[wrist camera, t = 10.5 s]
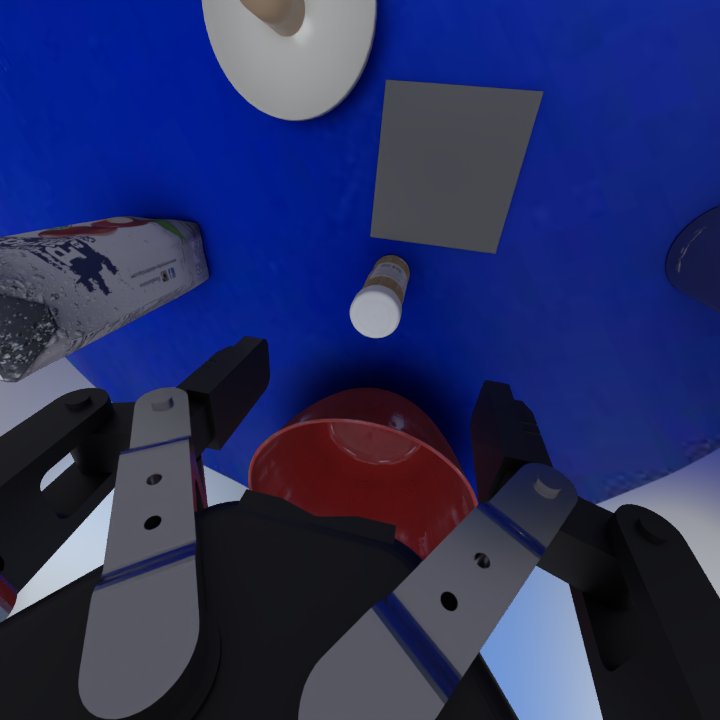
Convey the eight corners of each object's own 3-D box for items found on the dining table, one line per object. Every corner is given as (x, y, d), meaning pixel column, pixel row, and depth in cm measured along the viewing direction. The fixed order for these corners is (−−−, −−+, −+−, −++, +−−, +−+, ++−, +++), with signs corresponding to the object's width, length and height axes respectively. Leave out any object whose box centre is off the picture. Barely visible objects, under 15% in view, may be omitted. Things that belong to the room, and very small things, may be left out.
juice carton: (218, 284, 46) (6, 405, 23) (151, 277, 48) (-109, 384, 25) (205, 215, 42) (-76, 281, 19) (131, 210, 43) (-210, 265, 20)
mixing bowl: (499, 379, 45) (524, 468, 32) (435, 504, 60) (434, 599, 47) (300, 326, 47) (248, 390, 34) (287, 460, 62) (247, 540, 49)
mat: (541, 92, 30) (543, 91, 29) (494, 252, 37) (495, 253, 37) (386, 80, 31) (385, 79, 31) (371, 235, 39) (370, 236, 38)
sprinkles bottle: (366, 277, 41) (339, 321, 30) (387, 246, 39) (366, 281, 28) (396, 298, 42) (380, 348, 31) (418, 268, 40) (410, 311, 28)
